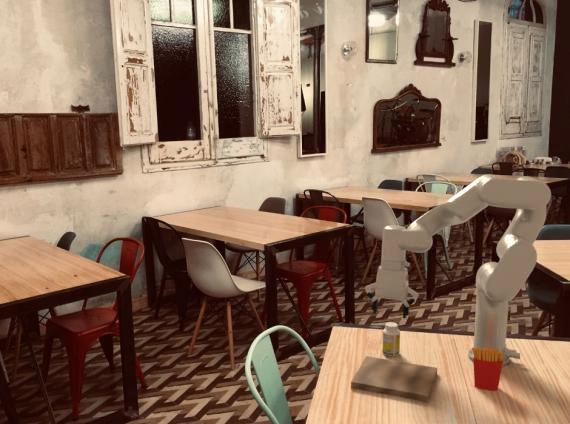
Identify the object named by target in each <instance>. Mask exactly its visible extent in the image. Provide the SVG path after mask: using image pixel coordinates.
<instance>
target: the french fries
mask: <svg viewBox="0 0 570 424" xmlns="http://www.w3.org/2000/svg"><path fill="white" fill-rule="evenodd" d="M471 349H472V350H473V354H474V355H473V361H472V362H473V378H474V381H473V382H474V387H475V388H476V389H478V390H484V391H491V392H497V391H498V390H499V385H500V379H501V374H502V369H503V366H502V365H503V359H502V357H503V352H501V353H499V352H498V349H494V351H493V349H491V350H490V351H489V348H487V349H486V347H484V350H482V351H481V349H480V347H478V349H477V348H474V347H472V348H471Z"/></svg>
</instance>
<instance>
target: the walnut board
mask: <svg viewBox="0 0 570 424" xmlns="http://www.w3.org/2000/svg"><path fill="white" fill-rule="evenodd" d="M437 375H438V367H435V366H429V365H423V364H417V363H410V362H403V361H399V360H392V359H386V358H381V357H380V358H379V357H375V356H374V357H373V356H367V355H366V356H365V358H364V360H363V361H362V362H361V364H360V366H359V368H358V369H357V371H356V372H355V374H354V376H353V377H352V379H351V382H350V389H355V390H358V391H359V390H360V391H364V392H370V393H375V394H381V395H386V396H391V397H397V398H401V399H408V400H412V401H418V402H424V403H428V404H429V402H430V399H431V395H432V392H433V389H434V386H435V382H436V378H437Z"/></svg>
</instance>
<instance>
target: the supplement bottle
mask: <svg viewBox="0 0 570 424" xmlns="http://www.w3.org/2000/svg"><path fill="white" fill-rule="evenodd" d="M398 328H399V324H398V323H396V322H393V321H392V322H391V321H388V322H386V323H385V327H384V329H383V330H382V354H383V355H384V356H386V357H391V358H392V357H398V356H399V355H400V351H401V349H400V346H401V341H400V340H401V331H400V329H398Z"/></svg>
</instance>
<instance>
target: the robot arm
mask: <svg viewBox="0 0 570 424" xmlns="http://www.w3.org/2000/svg"><path fill="white" fill-rule="evenodd" d="M551 197H552V191H551V189H550V186H548V184H546V183H545V182H543V181H541V180H538V179H537V178H534V177H531V176H527V175H526V176H525V175H524V176H520V177H518V178H517V179H510V178H503V177H502V178H501V177H499V176H498V175H494V174H491V173H488V174H483V175H481V176H480V177H478V178H476V179H475V180H474V181H472V182H471V183H470V184H469V185H467V186H465V187H464V188H463V189H462V190H460V191H459V192H458V193H456V194H454V195H453V196H452V197H450V198H448V199H447V200H446V201H445V202H442V203H440V204H439V205H437V206H435V207H433V208H432V209H430V210H428V211H427V212H426V213H424V214H422V215H421V216H420V217H419V218H417V219H415V220H414V221H413V222H411V224H409V226H408V227H407V228H406V227H404V226H401V225H397V224H394V225H393V224H392V225H391V224H390V225H386V226H385V227H384V228H383V229H382V243H381V260H380V265H379V266H378V269H377V273H376V279H375V282H373V283H370V284H368V285H365V287H364V290H365V292H366V294H367V297H368V298H369V299H370V301H371V302H372V304H371V310H372V313H373V314H374V315H375V314H377V313H378V309H379V300H378V298H381V299H388V300H394V301H401V302H402V303H403V307H402V308H403V310H402V311H403V312H402V319H406V318H407V316H409V313H410V306H412V304H414V303H415V301H416V300H417V298H419V292H417V291H416V290H414V289H412V288H411V287H409V273H408V268H407V267H410V265H411V263H410V262H408V261H407V260H406V256H407V255H406V254H407V253H406V252H407V251H408V252H413V253H417V254H418V253H426V252H427V251H429V250H431V248H432V246H433V241H434V240H433V236H435V235H436V234H437V233H439V232H440V231H442V230H443V229H446V228H448V227H450V226H454V225H460V224H464V223H466V222H467V221H470V219H472V218H473V217H474V216H476V215H477V214H478V213H480V212H482V211H483V210H484V209H486V208H487V207H488V206H490V207H496V208H505V209H516V212H515V215H514V216H513V218H512V220H511V222H510V224H509V226H508V227H507V229H506V230H505V232H504V234H503V235H502V236H501V238H500V239H499V241H498V243H497V245H496V249H495V250H496V254H497V256H498V258H499V261H498V262H496V261H488V262H486V263H483V264H482V265H481V266H480V267H479V269H478V270H477V272H476V275H475V276H476V277H475V291H476V293H475V294H476V296H475V297H476V299H475V300H476V301H475V302H476V303H475V304H476V305H475V317H474V334H473V335H474V336H473V348H477V349H478V347H480V349H481V351H482V350H484V347H486V349H487V348H489V351H490V350H491V349H493V351H494V349H498V352H499V353H501V352H503V357H502V359H503V365H502V367H504V366H506V365H508V364H509V363H510V359H512V358H513V359H517V360H520V359H521V352H517V349H511V348H508V347H507V341H506V340H507V328H508V327H507V326H508V313H509V302H510V301H512V300H513V299H514V298H515V297H516V296H517V295H518V293H519V292H520V290H521V289H522V288H523V286H524V284H525V283H526V281H527V280H528V278H529V277H530V275H531V273H532V272H533V271H534V268H535V267H536V264H537V261H538V253H537V250H536V248H535V246H534V243H535V241H536V240H537V238H538V236H539V234H540V232H541V231H542V229H543V228H544V224H545V222H546V219H547V205H548V204H549V203H550V200H551ZM372 289H374V293H373V292H372V291H371V290H372ZM409 294H410V295H411V296H412V297H411V298H410V299H409V298H408V295H409ZM473 355H474V354H473V350H472V348H470V349H469V350H468V351H467V356H468V358H469V360H471V361H472V362H473Z"/></svg>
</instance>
